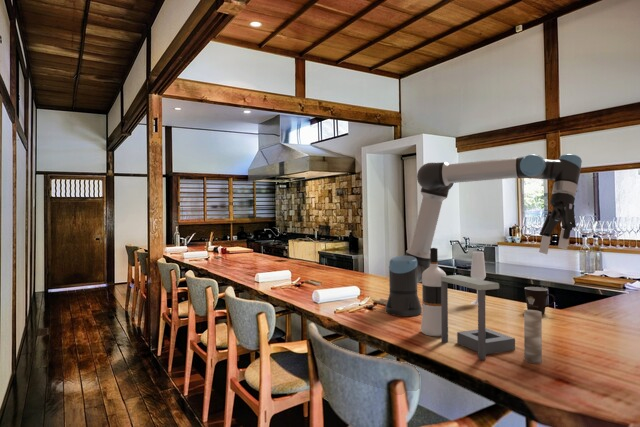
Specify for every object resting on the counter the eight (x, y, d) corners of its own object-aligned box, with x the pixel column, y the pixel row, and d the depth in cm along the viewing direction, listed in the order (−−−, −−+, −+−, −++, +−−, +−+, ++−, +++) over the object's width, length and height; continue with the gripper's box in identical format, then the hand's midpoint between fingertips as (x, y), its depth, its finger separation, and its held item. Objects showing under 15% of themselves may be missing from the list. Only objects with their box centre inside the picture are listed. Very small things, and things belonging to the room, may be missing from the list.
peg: (524, 362, 116) (524, 312, 116) (524, 357, 120) (523, 309, 120) (542, 364, 114) (542, 314, 114) (541, 359, 118) (541, 310, 118)
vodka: (415, 332, 146) (414, 247, 145) (433, 328, 151) (432, 246, 151) (435, 338, 138) (435, 249, 138) (453, 334, 143) (453, 248, 143)
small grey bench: (457, 338, 138) (457, 274, 138) (500, 357, 120) (500, 283, 120) (440, 341, 135) (439, 275, 135) (481, 360, 117) (481, 285, 117)
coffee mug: (520, 310, 177) (520, 287, 177) (539, 309, 178) (539, 286, 178) (536, 317, 165) (536, 292, 165) (557, 316, 166) (557, 291, 166)
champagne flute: (485, 302, 193) (485, 251, 193) (486, 305, 186) (486, 252, 186) (470, 301, 195) (470, 251, 195) (470, 304, 188) (470, 252, 188)
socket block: (486, 338, 138) (486, 328, 138) (515, 349, 126) (515, 338, 126) (457, 342, 133) (457, 332, 133) (484, 354, 122) (483, 343, 122)
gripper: (594, 189, 138) (583, 249, 134) (556, 206, 162) (545, 257, 158) (571, 183, 139) (559, 242, 134) (537, 201, 163) (526, 252, 159)
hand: (552, 251), depth 146 cm, fingers open, 13 cm apart
